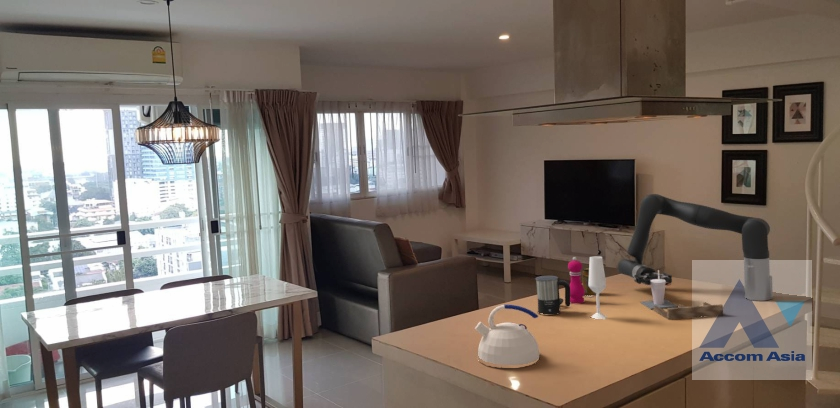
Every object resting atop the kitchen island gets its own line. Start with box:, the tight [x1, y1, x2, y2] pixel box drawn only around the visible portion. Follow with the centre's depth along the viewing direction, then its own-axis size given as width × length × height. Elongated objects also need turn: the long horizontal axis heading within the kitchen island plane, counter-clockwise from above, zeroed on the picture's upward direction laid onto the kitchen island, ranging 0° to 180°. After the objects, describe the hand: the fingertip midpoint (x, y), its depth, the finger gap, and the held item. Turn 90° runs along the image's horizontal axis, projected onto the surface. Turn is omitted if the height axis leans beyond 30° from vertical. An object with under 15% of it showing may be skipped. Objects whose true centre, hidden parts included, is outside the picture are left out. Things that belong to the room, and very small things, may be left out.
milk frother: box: [534, 275, 571, 315], centre depth 250 cm, size 14×16×15 cm
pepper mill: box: [567, 256, 585, 304], centre depth 261 cm, size 7×7×20 cm
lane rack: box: [653, 301, 724, 321], centre depth 233 cm, size 21×13×4 cm, turn 92°
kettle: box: [474, 304, 541, 365], centre depth 195 cm, size 20×21×18 cm
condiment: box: [581, 267, 601, 298], centre depth 273 cm, size 7×8×12 cm
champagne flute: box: [588, 255, 608, 320], centre depth 234 cm, size 7×7×24 cm
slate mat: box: [640, 299, 679, 310], centre depth 247 cm, size 11×11×1 cm
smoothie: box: [650, 269, 667, 305], centre depth 247 cm, size 6×6×14 cm
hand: (660, 281), depth 244 cm, fingers open, 8 cm apart
